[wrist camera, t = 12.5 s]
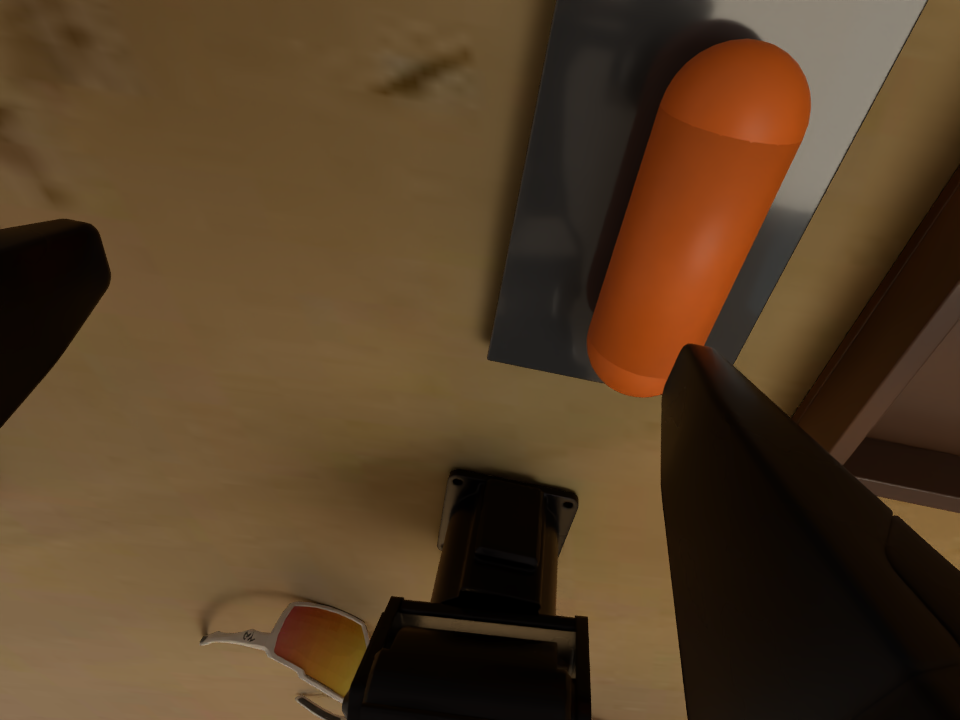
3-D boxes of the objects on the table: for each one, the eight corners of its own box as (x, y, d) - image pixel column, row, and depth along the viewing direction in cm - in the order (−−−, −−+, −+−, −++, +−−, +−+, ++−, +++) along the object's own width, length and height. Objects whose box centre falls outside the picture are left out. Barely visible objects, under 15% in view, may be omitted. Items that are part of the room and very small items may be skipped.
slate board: (706, 386, 24) (711, 406, 23) (490, 342, 24) (486, 360, 23) (914, -18, 15) (937, -15, 14) (572, -81, 15) (571, -81, 14)
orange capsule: (654, 353, 22) (693, 420, 19) (564, 350, 21) (591, 419, 19) (787, 35, 15) (876, 68, 13) (662, 16, 15) (727, 47, 12)
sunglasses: (452, 680, 42) (431, 758, 39) (326, 681, 51) (299, 746, 47) (315, 577, 36) (275, 658, 33) (197, 598, 45) (155, 664, 41)
